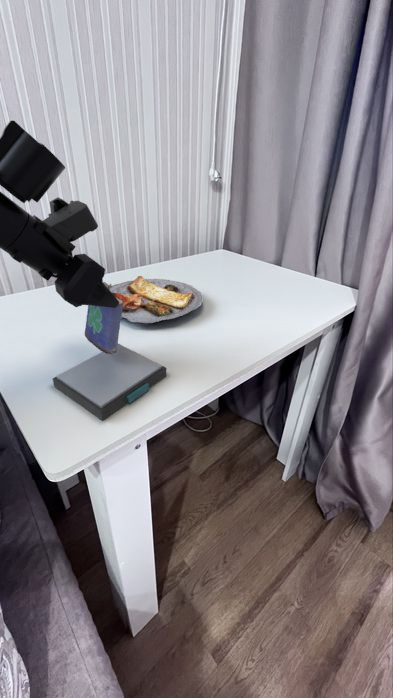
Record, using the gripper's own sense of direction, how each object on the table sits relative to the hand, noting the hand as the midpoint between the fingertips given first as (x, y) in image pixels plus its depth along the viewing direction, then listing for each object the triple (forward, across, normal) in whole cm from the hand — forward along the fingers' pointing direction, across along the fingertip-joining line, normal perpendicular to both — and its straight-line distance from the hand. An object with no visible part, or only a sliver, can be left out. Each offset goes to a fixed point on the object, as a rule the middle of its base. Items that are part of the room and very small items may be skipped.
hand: (104, 294), depth 54 cm
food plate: (+22, +17, -4) cm, 28 cm away
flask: (+5, 0, +8) cm, 9 cm away
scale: (+8, -6, +11) cm, 15 cm away
